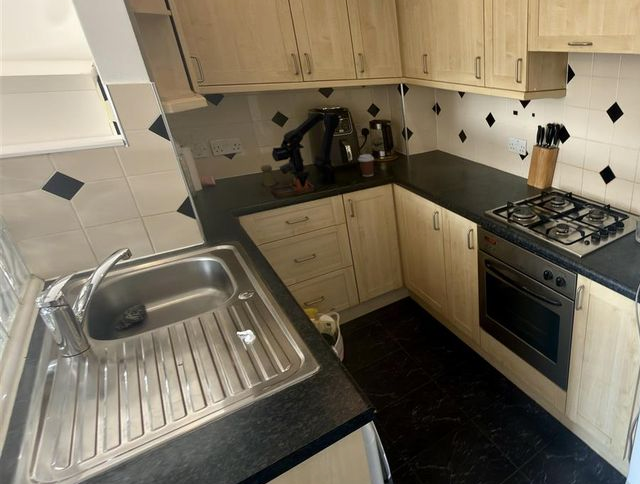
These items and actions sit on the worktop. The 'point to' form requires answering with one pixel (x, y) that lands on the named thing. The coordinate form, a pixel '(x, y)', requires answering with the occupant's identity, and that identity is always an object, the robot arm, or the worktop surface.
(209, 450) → the worktop surface
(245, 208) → the worktop surface
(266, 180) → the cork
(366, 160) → the coffee cup
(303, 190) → the sorting tray
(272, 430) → the worktop surface
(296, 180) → the terracotta block
